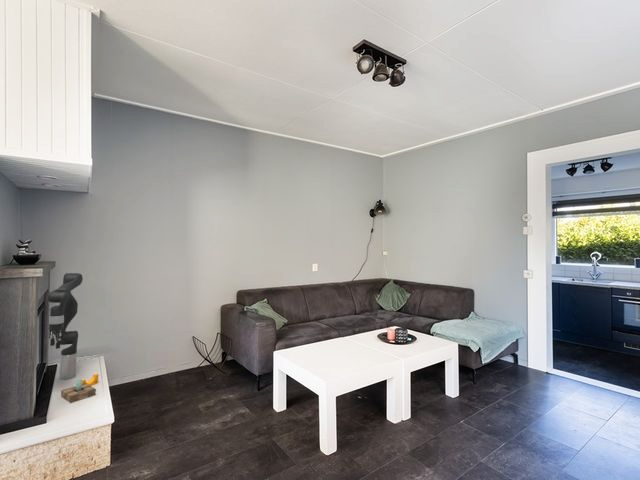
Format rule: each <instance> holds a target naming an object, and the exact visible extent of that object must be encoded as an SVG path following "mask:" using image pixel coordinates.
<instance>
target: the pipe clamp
mask: <svg viewBox="0 0 640 480" xmlns="http://www.w3.org/2000/svg"><path fill="white" fill-rule="evenodd" d="M99 375H100V374H98V373H93V374H92V378H90V379H88V380H87V381H86V379H82V378H81V380H82V384H85V383H86V384H88V385H90V386H91V387H93V386H94V385H97V384H99Z"/></svg>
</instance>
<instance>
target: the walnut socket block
mask: <svg viewBox="0 0 640 480" xmlns="http://www.w3.org/2000/svg"><path fill="white" fill-rule="evenodd" d="M96 392H97V389H96V388H95V387H93V386H90V385H88V384H86V383H85V384H82V389H81V391H78V392H76V385H75V386H72V387H68V388H65V389H61V391H60V398H62V399H64V400H65V401H67V403H70V404H72V403H75V402H79V401H82V400H85V399H87V398H91V397H94V396H96Z"/></svg>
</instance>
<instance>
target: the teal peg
mask: <svg viewBox="0 0 640 480" xmlns="http://www.w3.org/2000/svg"><path fill="white" fill-rule="evenodd" d="M75 384H76V385H75V386H76V392H78V391H81V389H82V378H81V379H76V382H75Z"/></svg>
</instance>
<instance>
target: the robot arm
mask: <svg viewBox="0 0 640 480" xmlns="http://www.w3.org/2000/svg"><path fill="white" fill-rule="evenodd" d="M62 278H63V279H62V280H63V281H62V284H61V285H60V286H59V287H58V288H56V289H54V290H52V291H50V292H49V293H48V295H47V298H46V299H47V301H48V302H49V303H52V304H56V303H57V304H58V303H59V304H58V305H54V306H51V307H50V310H49V311H50V313H49V320H48V321H49V322H48V333H49V334H48V339H49V340H50V346H51V347H52V346H55V349H56V350H57V349H60V348H61V346H64V345H67V346H68V345H70V346H68V347H65V348H63V349H62V350H60V351H61V352H60V365H59V380H70V379H73V378H75V377H76V373H77V372H76V370H77V368H76V367H77V354H78V353H77V352H78V339H79V332H78V331H77V330H70V331H67V328H68V326H69V325H70V323H71V321H72V320H73V319H74V318H75V317H76V315H77V313H78V309H79V308H78V307H79V306H78V305H79V304H78V301H77V299H76V298H75V297H74V295H73V293H72V291H73V290H74V289H76V288H77V287H79V286H80V285H81V284H82V283H83V274H82V273H78V272H75V273H74V272H73V273H72V272H69V273H65V274H64V275H63V277H62Z"/></svg>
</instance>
